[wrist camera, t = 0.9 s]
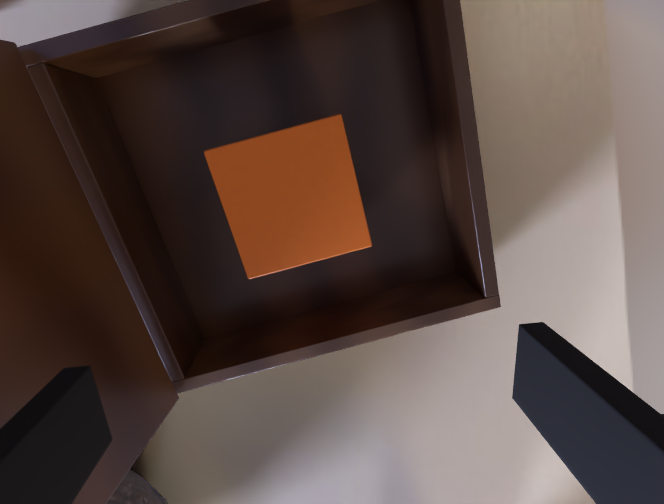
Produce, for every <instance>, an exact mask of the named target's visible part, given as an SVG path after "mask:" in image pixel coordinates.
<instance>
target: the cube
mask: <svg viewBox="0 0 664 504" xmlns="http://www.w3.org/2000/svg"><path fill="white" fill-rule="evenodd" d="M204 155H205V158H206V160H207V163H208V166H209V169H210V172H211V175H212V177H213V180H214V183H215V186H216V189H217V192H218V194H219V197H220V200H221V203H222V206H223V209H224V212H225V214H226V217H227V220H228V223H229V226H230V229H231V231H232V234H233V237H234V240H235V243H236V246H237V248H238V251H239V254H240V257H241V260H242V263H243V265H244V268H245V271H246V274H247V277H248V279H252V278H256V277H260V276H264V275H267V274H271V273H275V272H278V271H282V270H286V269H290V268H293V267H297V266H301V265H304V264H308V263H312V262H316V261H319V260H323V259H327V258H330V257H334V256H338V255H342V254H345V253H349V252H353V251H356V250H360V249H364V248H368V247H371V246H372V242H371V238H370V234H369V229H368V225H367V221H366V217H365V212H364V208H363V204H362V200H361V195H360V191H359V187H358V183H357V178H356V174H355V170H354V166H353V161H352V157H351V153H350V149H349V144H348V140H347V136H346V132H345V127H344V123H343V119H342V115H341V114H338V115H334V116H330V117H326V118H323V119H319V120H315V121H312V122H308V123H304V124H301V125H297V126H293V127H290V128H286V129H282V130H279V131H275V132H271V133H268V134H264V135H260V136H257V137H253V138H249V139H246V140H242V141H238V142H234V143H231V144H227V145H223V146H220V147H216V148H212V149H209V150H205V151H204Z"/></svg>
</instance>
